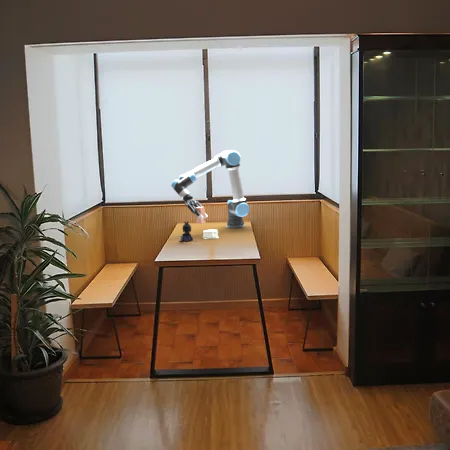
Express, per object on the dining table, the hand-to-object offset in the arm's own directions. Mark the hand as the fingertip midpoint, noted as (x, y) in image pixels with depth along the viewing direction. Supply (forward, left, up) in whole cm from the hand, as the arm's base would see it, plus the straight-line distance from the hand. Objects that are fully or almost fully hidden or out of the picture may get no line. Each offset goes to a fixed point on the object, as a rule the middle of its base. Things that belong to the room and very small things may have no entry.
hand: (204, 218), depth 409 cm
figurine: (+15, +12, -15) cm, 25 cm away
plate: (-3, +8, -15) cm, 17 cm away
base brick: (-3, +8, -14) cm, 16 cm away
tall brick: (+3, -3, -4) cm, 5 cm away
